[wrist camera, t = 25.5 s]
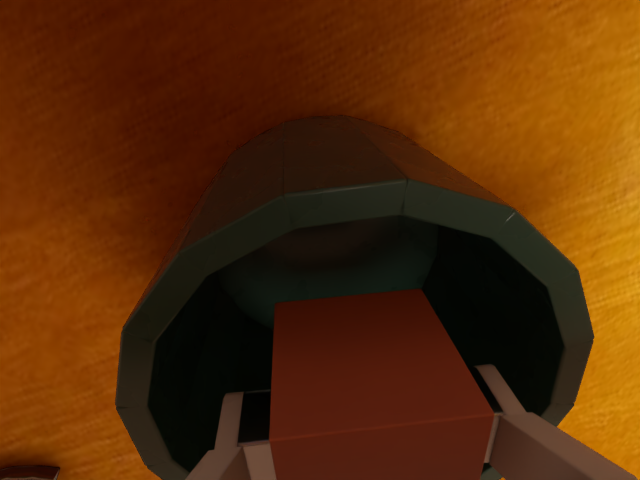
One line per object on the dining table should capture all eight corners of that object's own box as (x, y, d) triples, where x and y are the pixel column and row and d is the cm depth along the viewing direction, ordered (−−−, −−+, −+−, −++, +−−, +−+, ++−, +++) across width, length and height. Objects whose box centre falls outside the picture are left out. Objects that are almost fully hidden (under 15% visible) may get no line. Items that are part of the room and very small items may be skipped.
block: (288, 405, 13) (290, 559, 9) (274, 301, 11) (268, 440, 7) (413, 391, 13) (468, 535, 9) (421, 287, 11) (496, 414, 7)
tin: (181, 322, 20) (103, 520, 11) (222, 76, 15) (139, 103, 6) (395, 358, 22) (462, 543, 14) (494, 159, 17) (695, 258, 9)
